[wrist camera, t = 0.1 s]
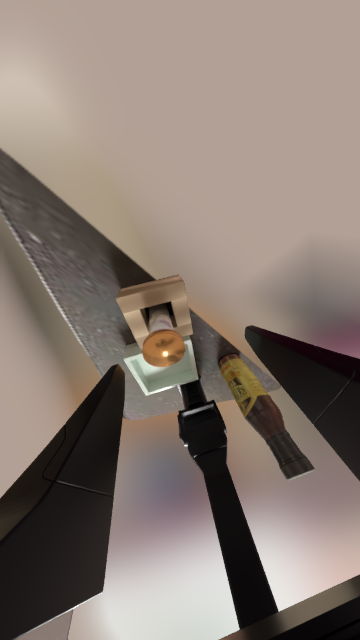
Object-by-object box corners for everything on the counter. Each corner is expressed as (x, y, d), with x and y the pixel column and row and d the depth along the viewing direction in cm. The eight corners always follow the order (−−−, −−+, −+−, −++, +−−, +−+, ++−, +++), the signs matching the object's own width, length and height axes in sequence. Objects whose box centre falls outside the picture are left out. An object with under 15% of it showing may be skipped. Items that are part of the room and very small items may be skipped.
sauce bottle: (218, 354, 32) (293, 476, 16) (241, 350, 33) (335, 460, 17) (215, 372, 36) (274, 487, 19) (236, 368, 37) (310, 474, 20)
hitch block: (187, 321, 26) (193, 333, 22) (141, 334, 25) (140, 349, 22) (178, 274, 21) (183, 281, 17) (121, 288, 20) (115, 298, 17)
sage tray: (193, 366, 33) (198, 379, 30) (146, 381, 32) (146, 395, 29) (186, 328, 26) (190, 339, 23) (126, 345, 26) (123, 359, 23)
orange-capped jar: (173, 314, 24) (188, 360, 15) (149, 321, 24) (150, 371, 15) (167, 292, 22) (181, 329, 13) (141, 298, 22) (135, 342, 12)
